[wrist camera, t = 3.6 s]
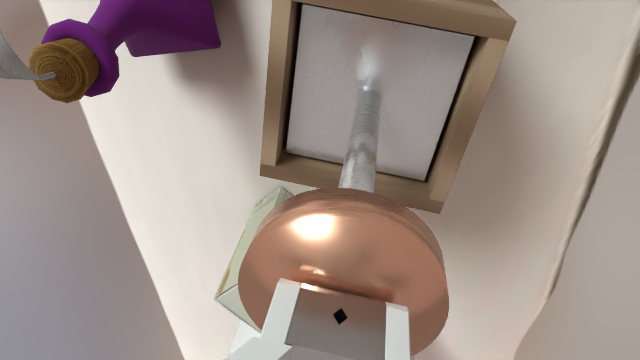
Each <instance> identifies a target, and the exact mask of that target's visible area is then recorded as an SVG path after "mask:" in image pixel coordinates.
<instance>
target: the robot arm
mask: <svg viewBox="0 0 640 360" xmlns="http://www.w3.org/2000/svg"><path fill="white" fill-rule="evenodd" d="M224 360H411V352H410V325H409V310H408V308H407V307H406V306H402V305H397V304H393V303H388V302H384V301H380V300H376V299H371V298H366V297H362V296H357V295H352V294H348V293H340V292H336V291H332V290H328V289H324V288H320V287H317V286H313V285H309V284H305V283H302V284H301V283H300V282H296V281H292V280H287V279H283V278H280V280H279V282H278V283H277V286H276V289H275V292H274V295H273V298H272V301H271V304H270V308H269V311H268V314H267V317H266V320H265V323H264V326H263V329H262V332H261V335H260V338H256V337H252V338H251V339H250V340H248V341H247V342H246V343H245V344H243V345H242V346H241V347H239V348H238V349H237V350H236V351H234V352H233V353H232V354H231V355H229V356H228V357H227V358H226V359H224Z"/></svg>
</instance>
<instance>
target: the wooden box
mask: <svg viewBox="0 0 640 360" xmlns="http://www.w3.org/2000/svg"><path fill="white" fill-rule="evenodd" d="M304 3H307V4H313V5H318V6H323V7H329V8H334V9H339V10H345V11H350V12H355V13H361V14H366V15H371V16H376V17H382V18H387V19H392V20H398V21H403V22H408V23H414V24H419V25H424V26H430V27H435V28H440V29H446V30H451V31H456V32H461V33H467V34H472V35H474V36H475V37H474V40H473V43H472V46H471V49H470V52H469V54H468V57H467V60H466V63H465V66H464V69H463V71H462V74H461V77H460V80H459V83H458V86H457V89H456V91H455V94H454V97H453V100H452V103H451V106H450V108H449V111H448V114H447V117H446V120H445V123H444V125H443V128H442V131H441V134H440V137H439V140H438V143H437V145H436V148H435V151H434V154H433V157H432V160H431V162H430V165H429V168H428V171H427V174H426V177H425V180H424V181H423V180H418V179H413V178H408V177H403V176H398V175H394V174H389V173H384V172H379V171H376V173H375V186H374V193H375V194H379V195H381V196H384V197H386V198H389V199H391V200H393V201H395V202H397V203H399V204H401V205H403V206H406V207H410V208H415V209H420V210H425V211H429V212H434V213H439V214H440V212H441V209H442V207H443V204H444V202H445V199H446V197H447V194H448V192H449V189H450V187H451V184H452V182H453V179H454V177H455V174H456V172H457V169H458V167H459V164H460V162H461V159H462V157H463V154H464V152H465V149H466V147H467V144H468V142H469V139H470V137H471V134H472V132H473V129H474V127H475V124H476V122H477V119H478V117H479V114H480V112H481V109H482V107H483V104H484V102H485V99H486V97H487V94H488V92H489V89H490V87H491V84H492V82H493V79H494V77H495V74H496V72H497V69H498V67H499V64H500V62H501V59H502V57H503V54H504V52H505V49H506V47H507V44H508V42H509V39H510V37H511V34H512V32H513V29H514V27H515V24H516V22H517V21H516V20H515V19H514V18H512V17H511V16H510V15H509V14H508V13H506V12H505V11H504V10H503V9H502V8H501V7H499V6H498V5H497V4H496V3H495V2H494V1H492V0H273V1H272V15H271V29H270V42H269V56H268V70H267V84H266V97H265V111H264V125H263V138H262V152H261V166H260V176H264V177H269V178H274V179H278V180H283V181H288V182H293V183H297V184H302V185H307V186H311V187H316V188H321V189H322V188H338V187H339V182H340V178H341V173H342V169H343V164H341V163H336V162H331V161H326V160H322V159H317V158H312V157H307V156H302V155H298V154H293V153H288V152H286V148H287V139H288V130H289V121H290V112H291V104H292V95H293V86H294V77H295V68H296V59H297V50H298V41H299V32H300V24H301V15H302V6H303V4H304Z"/></svg>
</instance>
